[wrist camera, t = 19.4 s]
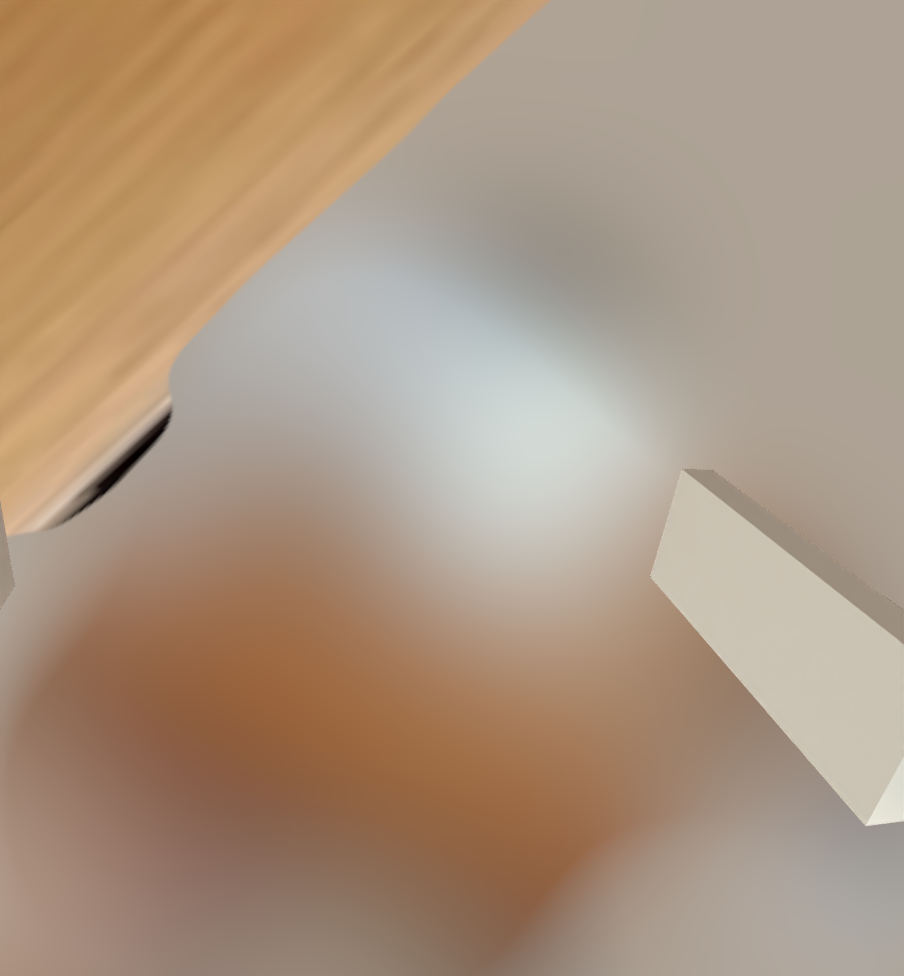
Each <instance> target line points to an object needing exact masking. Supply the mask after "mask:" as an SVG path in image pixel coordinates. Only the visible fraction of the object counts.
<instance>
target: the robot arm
mask: <svg viewBox="0 0 904 976" xmlns="http://www.w3.org/2000/svg"><path fill="white" fill-rule="evenodd" d="M650 577H651V578H652V579H653V580H654V582H655V583H656V584H657V585H658V586H659V587H660V588H661V590H662V591H663V592H664V593H665V594H666V595H667V597H668V598H669V599H670V600H671V601H672V602H673V604H674V605H675V606H676V607H677V608H678V609H679V611H680V612H681V613H682V614H683V615H684V616H685V617H686V618H687V620H688V621H689V622H690V623H691V624H692V626H693V627H694V628H695V629H696V630H697V631H698V632H699V633H700V635H701V636H702V637H703V638H704V639H705V641H706V642H707V643H708V644H709V645H710V646H711V648H712V649H713V650H714V651H715V652H716V653H717V655H718V656H719V657H720V658H721V659H722V660H723V661H724V663H725V664H726V665H727V666H728V667H729V668H730V670H731V671H732V672H733V673H734V674H735V675H736V676H737V678H738V679H739V680H740V681H741V682H742V683H743V685H744V686H745V687H746V688H747V689H748V690H749V691H750V693H751V694H752V695H753V696H754V697H755V698H756V700H757V701H758V702H759V703H760V704H761V705H762V707H763V708H764V709H765V710H766V711H767V712H768V714H769V715H770V716H771V717H772V718H773V719H774V721H775V722H776V723H777V724H778V725H779V726H780V727H781V729H782V730H783V731H784V732H785V733H786V734H787V736H788V737H789V738H790V739H791V740H792V741H793V743H794V744H795V745H796V746H797V747H798V748H799V749H800V751H801V752H802V753H803V754H804V755H805V756H806V757H807V759H808V760H809V761H810V762H811V763H812V764H813V766H814V767H815V768H816V769H817V770H818V771H819V772H820V774H821V775H822V776H823V777H824V778H825V779H826V781H827V782H828V783H829V784H830V785H831V787H832V788H833V789H834V790H835V791H836V792H837V793H838V795H839V796H840V797H841V798H842V799H843V800H844V801H845V803H846V804H847V805H848V806H849V807H850V808H851V809H852V811H853V812H854V813H855V814H856V815H857V817H858V818H859V819H860V820H861V821H862V822H863V824H864V825H865V826H868V825H876V824H884V823H892V822H900V821H904V610H903V609H901V608H900V607H899V606H897V605H896V604H894V603H893V602H892V601H891V600H889V599H888V598H886V597H885V596H883V595H882V594H881V593H879V592H878V591H877V590H875V589H874V588H873V587H871V586H870V585H868V584H867V583H866V582H864V581H863V580H862V579H860V578H859V577H858V576H856V575H855V574H854V573H852V572H851V571H849V570H848V569H847V568H845V567H844V566H843V565H841V564H840V563H839V562H837V561H836V560H835V559H833V558H832V557H830V556H829V555H828V554H826V553H825V552H823V551H822V550H821V549H820V548H818V547H817V546H815V545H814V544H813V543H811V542H810V541H809V540H807V539H806V538H804V537H803V536H802V535H801V534H799V533H798V532H796V531H795V530H794V529H792V528H791V527H789V526H788V525H787V524H786V523H784V522H783V521H781V520H780V519H779V518H777V517H776V516H775V515H773V514H772V513H771V512H769V511H768V510H767V509H765V508H764V507H762V506H761V505H760V504H758V503H757V502H756V501H754V500H753V499H752V498H750V497H749V496H747V495H746V494H745V493H743V492H742V491H741V490H739V489H738V488H737V487H735V486H734V485H732V484H731V483H730V482H728V481H727V480H726V479H724V478H723V477H722V476H720V475H719V474H718V473H716V472H715V471H713V470H697V469H682V470H681V474H680V477H679V481H678V484H677V488H676V491H675V494H674V498H673V501H672V504H671V508H670V511H669V515H668V519H667V522H666V525H665V528H664V532H663V535H662V539H661V542H660V545H659V549H658V552H657V556H656V559H655V562H654V566H653V569H652V573H651V576H650ZM14 587H15V583H14V577H13V572H12V566H11V560H10V555H9V549H8V543H7V537H6V532H5V526H4V520H3V515H2V509H1V503H0V609H1V607H2V606H3V604H4V602H5V601H6V599H7V598H8V596H9V595H10V593H11V591H12V590H13V588H14Z"/></svg>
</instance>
